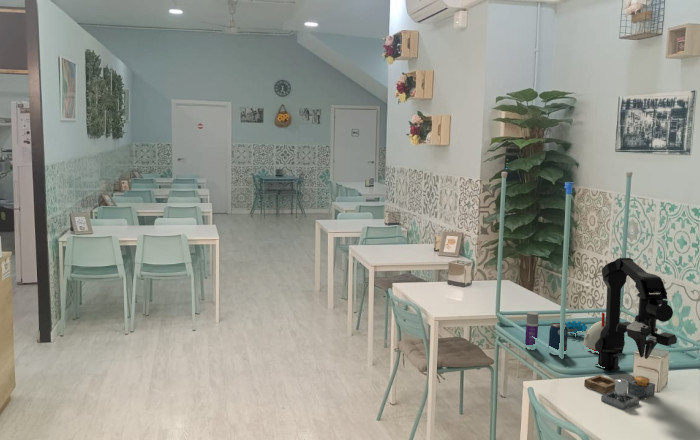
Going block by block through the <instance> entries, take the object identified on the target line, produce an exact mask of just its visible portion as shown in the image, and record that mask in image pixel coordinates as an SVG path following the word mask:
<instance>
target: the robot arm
mask: <svg viewBox="0 0 700 440" xmlns="http://www.w3.org/2000/svg"><path fill="white" fill-rule="evenodd" d="M601 275H602V280H603V283H604V284H605V286H606V301H605V303H606V304H605V306H606V308H605V322H606V325H605V327H604V328H603V330H602V331H601V334H600V338H599V340H598V341H597V342H596V343H595V350H597V351H598V352H599V354H598V357H597V363H596V364H595V365H598V364H599V365H600V366H602V367H605V369H604V370H605V371H608V372H610V371H615V370H618V369H620V367H621V366H619V364H620V363H619V360H620V358H619V357H620V356H619V354H623V351H624V348H625V345H626V341H625V337H626V335H625V334H627V336H628V337H629V338H630V339H632V340H633V341H634V343H635V345H636V347H637V350H638V353H639V354H638V355H639V357H640V358H643V357H644V359H645V360H648V359H649V357H650V356H651V353H652V352H653V350H654V348H655V347H656V345H658V344H659V345H660V346H664V347H665V346H667V347H669V346H671V345H675V344H677V342H678V341H677V340H678V337H677V336H676V334H673V333H669V332H666V331H665V332H664V331H663V332H662V333H658V332H659V328H658V327H657V321H659V322H662V323H663V322H668V321H670V320H671V319H672V318H673V315H674V311H673V308H672V307H671V305H669V304H668V303H669V302H668V292H667V290H666V287H665V284H664V281H663V280H662V278H661V276H659V275H657V274H653V273H649V272H647V271H646V270H644V269H643V268H642V267H640V266H639V264H637V263H636V262H634V260H633V258H630V257H618V258H616V259H615V260H613V261H611V262H608V263H606V264H605V265H604V266H603V267H602V269H601ZM628 277H629V278H630V279H631V280H632V281H633V282H634V283H635V288H636V290H637V291H638V293H637V294H636V296H637V298H639V302H638V312H637V315H635V317H634V321H632V322H629V321H624V322H620V321H621V320H620V319H621V302H622V301H621V300H622V299H621V296H622V289H623V287H624V286H625V284H626V283H627V279H628Z"/></svg>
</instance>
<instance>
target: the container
mask: <svg viewBox="0 0 700 440" xmlns="http://www.w3.org/2000/svg"><path fill="white" fill-rule="evenodd" d="M538 334H539V312H537V311H527V312H526V322H525V339H524V341H525V343H524V345H525V344H526V345H533V344H535V339H534V338H533V337H535V338H537V339H538ZM532 336H533V337H532Z"/></svg>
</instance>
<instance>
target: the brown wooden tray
mask: <svg viewBox="0 0 700 440" xmlns="http://www.w3.org/2000/svg"><path fill="white" fill-rule="evenodd" d="M583 385H584V387H585V388H589V389H591V390H593V391H597V392H599V393H602V394H603V395H604V394H607V393H610V392H613V391H615V380H614V379H611V378H609V377H607V376H604V375H602V374H601V375H600V374H597V375H595V376H591V377H588V378H586V379H584V384H583Z"/></svg>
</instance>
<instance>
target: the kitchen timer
mask: <svg viewBox="0 0 700 440" xmlns="http://www.w3.org/2000/svg"><path fill="white" fill-rule="evenodd" d="M605 325H606V312H601V320H600V321H597V322H595V323H593V325H591V327H590V328H588V329H586V331H585V334H584V338H583V344H584V345H585V346H586V347H588V348H589V349H592V350H594V351H597V350H595V343H596V342H597V341H598V340H599V338H600V334H601V331H602V330H603V328H604V327H605Z"/></svg>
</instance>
